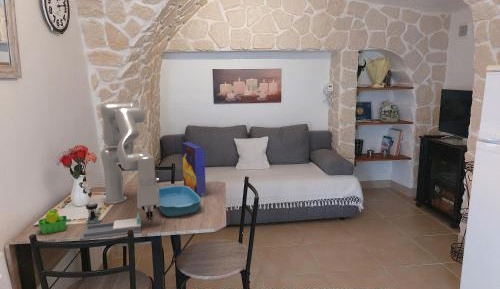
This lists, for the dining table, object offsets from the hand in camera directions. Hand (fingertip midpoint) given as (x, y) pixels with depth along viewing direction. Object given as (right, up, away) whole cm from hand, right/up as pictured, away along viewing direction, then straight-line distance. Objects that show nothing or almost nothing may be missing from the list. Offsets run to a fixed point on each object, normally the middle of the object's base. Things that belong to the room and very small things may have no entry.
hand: (149, 218), depth 166 cm
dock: (-16, -5, -4) cm, 17 cm away
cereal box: (+13, +5, +51) cm, 53 cm away
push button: (-29, -3, +6) cm, 29 cm away
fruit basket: (-44, -5, -4) cm, 44 cm away
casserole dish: (+7, +1, +26) cm, 27 cm away
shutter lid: (-10, -2, -3) cm, 10 cm away
